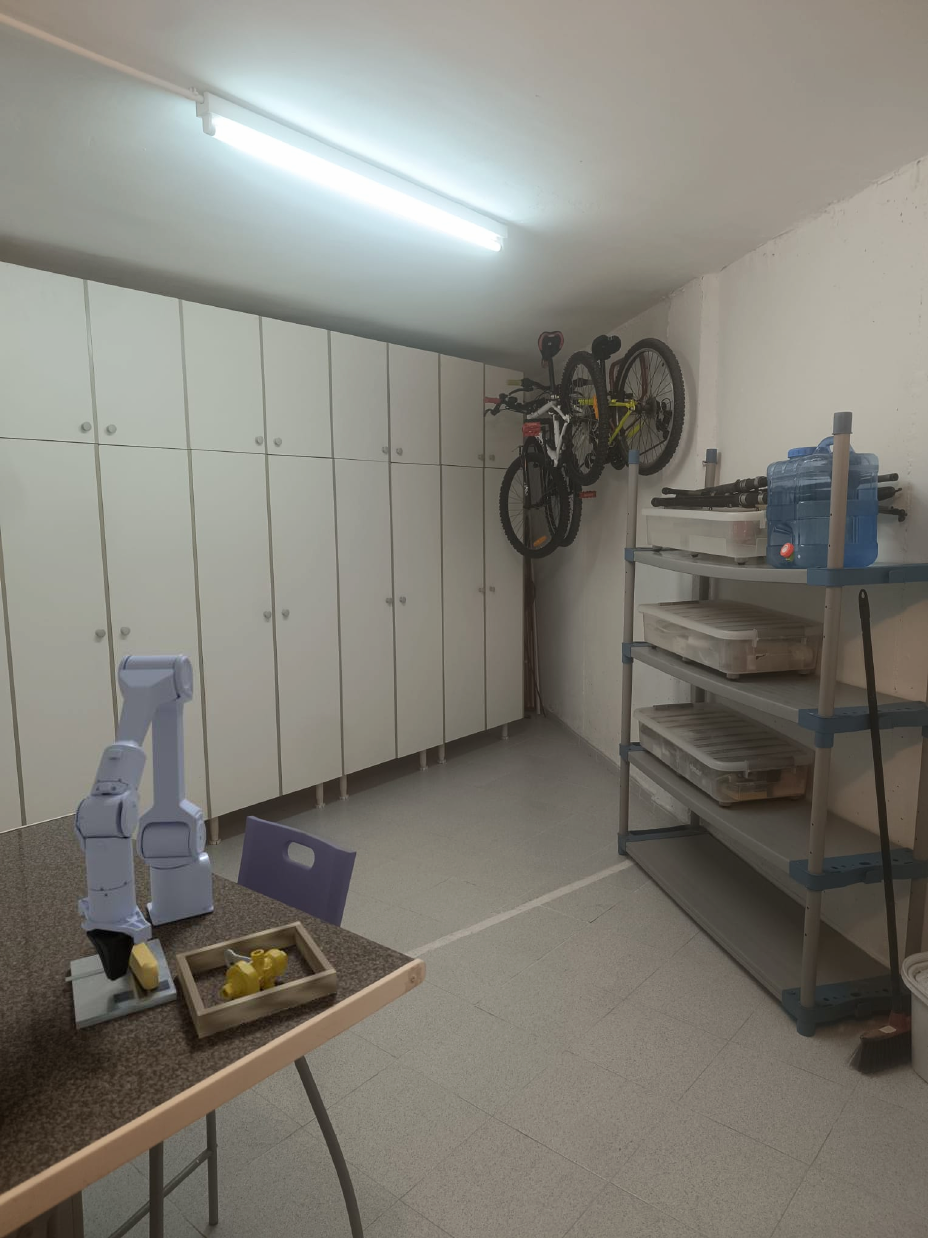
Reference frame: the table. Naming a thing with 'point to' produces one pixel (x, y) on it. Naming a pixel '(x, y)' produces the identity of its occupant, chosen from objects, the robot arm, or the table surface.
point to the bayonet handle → (144, 965)
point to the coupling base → (116, 989)
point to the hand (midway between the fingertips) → (117, 976)
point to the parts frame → (262, 1001)
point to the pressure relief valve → (252, 972)
